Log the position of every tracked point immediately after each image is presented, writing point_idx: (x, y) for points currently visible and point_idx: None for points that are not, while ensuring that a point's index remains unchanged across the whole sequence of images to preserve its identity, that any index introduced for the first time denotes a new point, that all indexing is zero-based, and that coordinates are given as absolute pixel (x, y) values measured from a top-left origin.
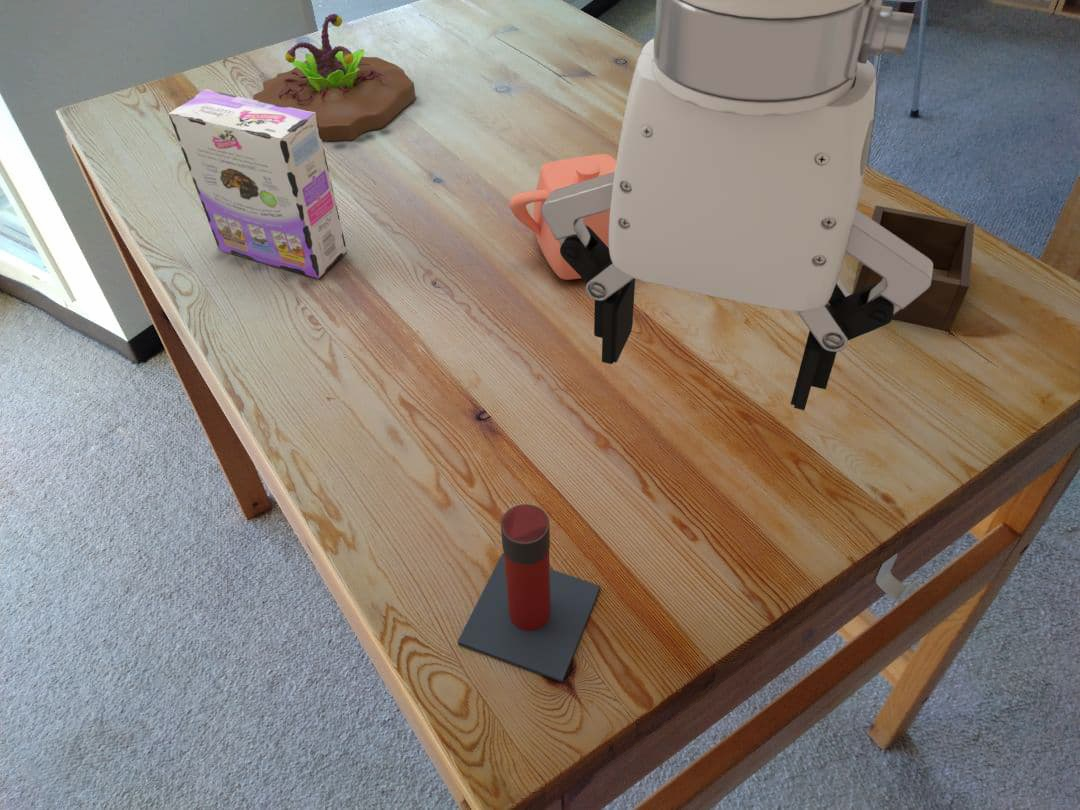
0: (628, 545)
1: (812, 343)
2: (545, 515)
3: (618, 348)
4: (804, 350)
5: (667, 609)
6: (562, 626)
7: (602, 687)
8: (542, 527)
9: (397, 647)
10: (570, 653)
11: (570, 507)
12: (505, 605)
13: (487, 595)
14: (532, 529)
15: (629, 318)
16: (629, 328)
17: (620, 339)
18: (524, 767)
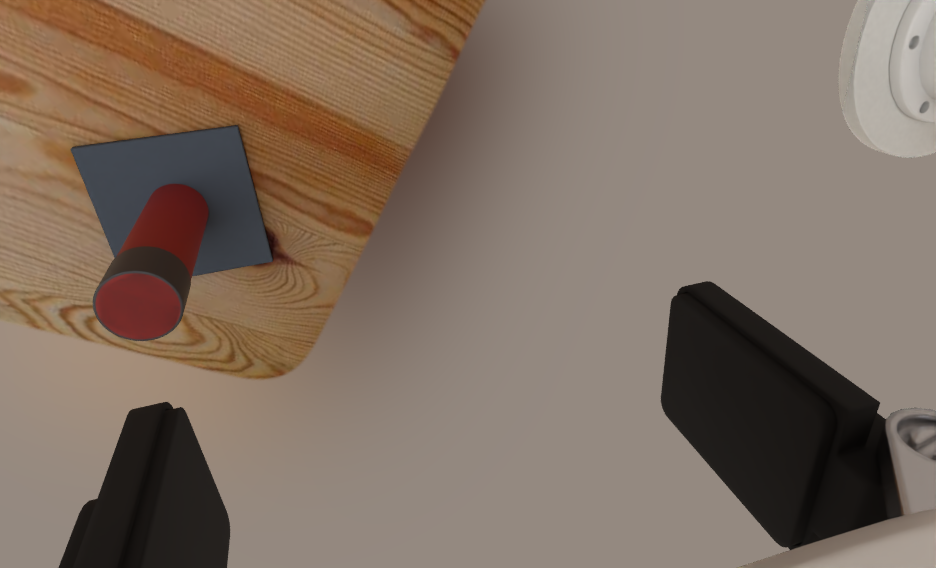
0: (230, 33)
1: (813, 542)
2: (157, 278)
3: (220, 541)
4: (782, 543)
5: (334, 109)
6: (230, 206)
7: (315, 239)
8: (169, 297)
9: (64, 325)
10: (261, 230)
11: (96, 3)
12: None
13: (108, 218)
14: (157, 308)
15: (181, 488)
16: (187, 448)
17: (213, 549)
18: (290, 344)
